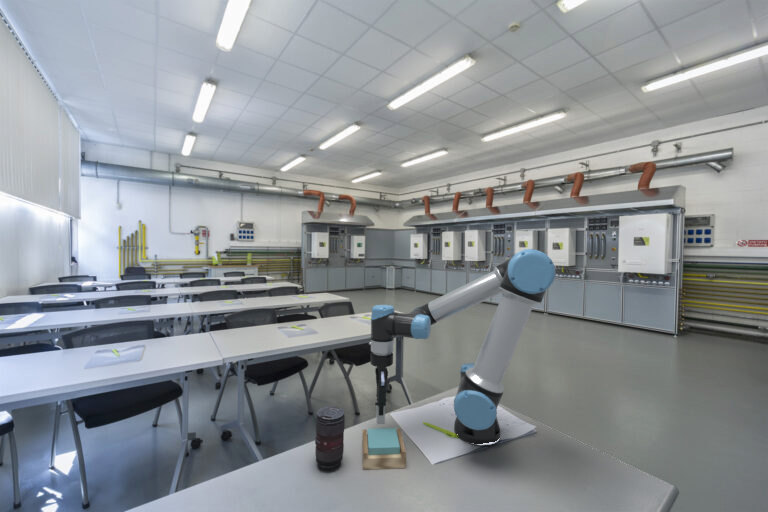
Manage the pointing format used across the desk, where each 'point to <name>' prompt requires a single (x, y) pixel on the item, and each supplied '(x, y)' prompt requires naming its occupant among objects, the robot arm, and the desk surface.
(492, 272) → the robot arm
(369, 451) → the cover plate
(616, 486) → the desk surface
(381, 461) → the wooden channel tray
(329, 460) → the camera lens
